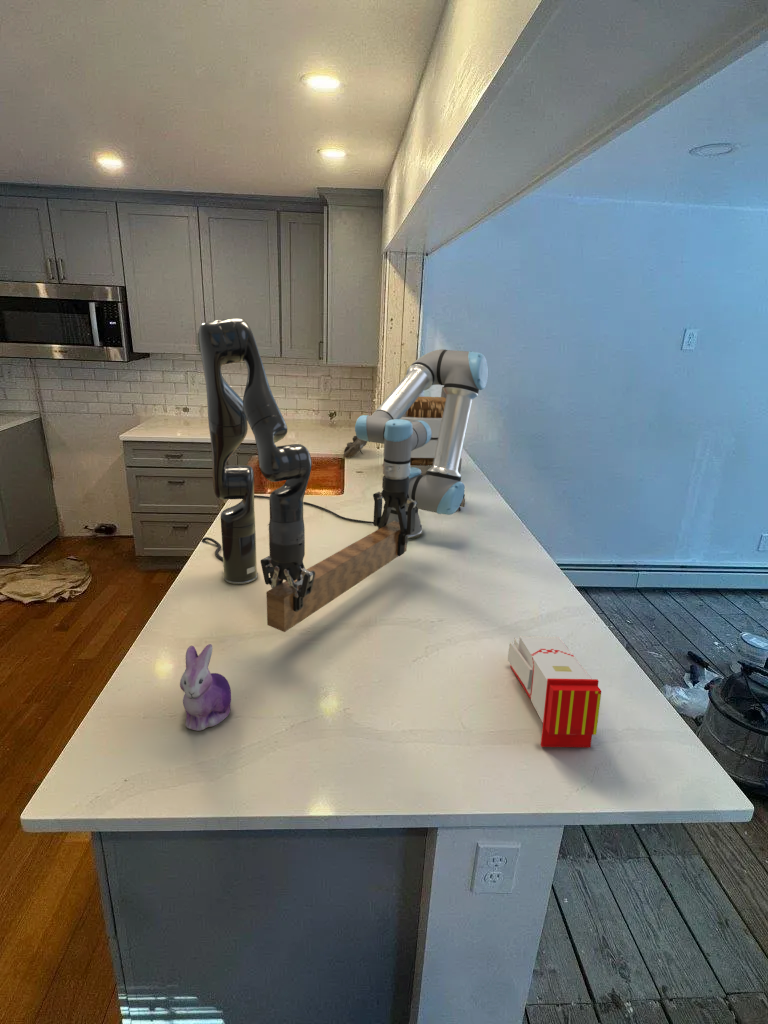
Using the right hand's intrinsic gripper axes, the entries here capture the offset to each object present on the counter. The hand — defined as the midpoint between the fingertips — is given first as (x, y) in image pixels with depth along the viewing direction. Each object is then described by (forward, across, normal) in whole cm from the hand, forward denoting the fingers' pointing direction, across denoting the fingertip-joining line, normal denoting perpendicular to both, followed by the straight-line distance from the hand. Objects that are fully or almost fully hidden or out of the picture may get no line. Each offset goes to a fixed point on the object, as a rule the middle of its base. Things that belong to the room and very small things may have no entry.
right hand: (392, 551), depth 166 cm
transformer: (+8, -46, +104) cm, 114 cm away
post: (0, 0, -23) cm, 23 cm away
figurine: (+7, +3, -73) cm, 74 cm away
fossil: (+8, -91, +114) cm, 147 cm away
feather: (+8, -59, +17) cm, 62 cm away
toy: (+7, +55, -31) cm, 64 cm away
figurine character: (+8, -11, +69) cm, 70 cm away
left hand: (-4, 0, -46) cm, 47 cm away
